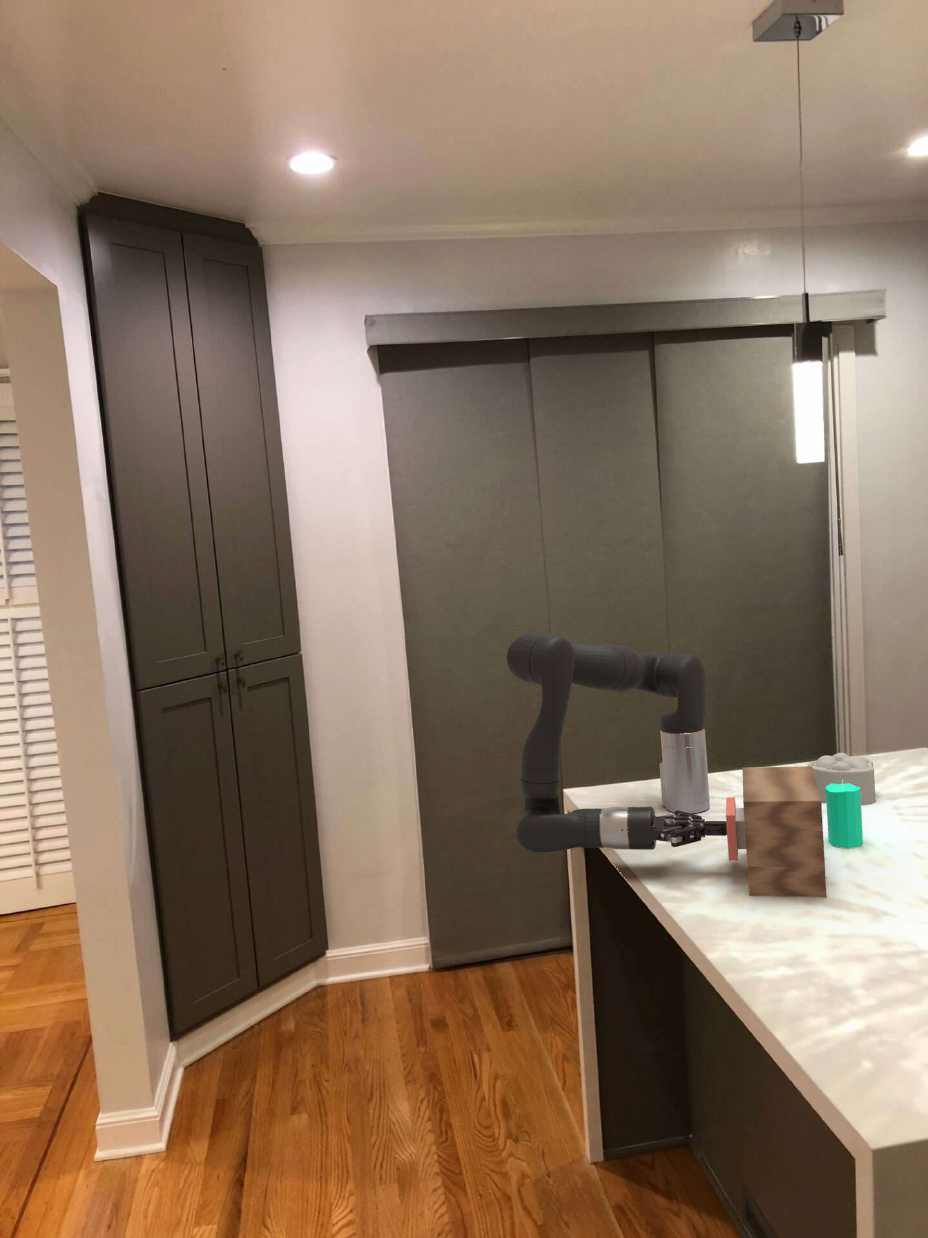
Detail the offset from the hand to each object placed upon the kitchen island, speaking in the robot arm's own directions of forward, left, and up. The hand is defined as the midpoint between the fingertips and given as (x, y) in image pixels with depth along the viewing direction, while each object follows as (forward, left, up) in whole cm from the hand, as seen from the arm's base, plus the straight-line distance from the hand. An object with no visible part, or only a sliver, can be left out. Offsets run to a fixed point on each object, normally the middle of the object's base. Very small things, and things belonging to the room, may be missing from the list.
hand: (727, 828), depth 168 cm
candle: (+6, +25, -8) cm, 27 cm away
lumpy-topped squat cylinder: (-10, +47, -8) cm, 49 cm away
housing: (+7, +6, -8) cm, 12 cm away
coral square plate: (+4, +3, -4) cm, 6 cm away
